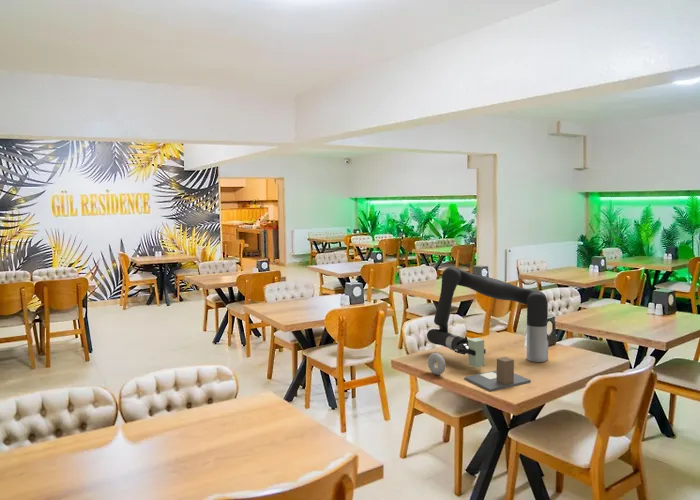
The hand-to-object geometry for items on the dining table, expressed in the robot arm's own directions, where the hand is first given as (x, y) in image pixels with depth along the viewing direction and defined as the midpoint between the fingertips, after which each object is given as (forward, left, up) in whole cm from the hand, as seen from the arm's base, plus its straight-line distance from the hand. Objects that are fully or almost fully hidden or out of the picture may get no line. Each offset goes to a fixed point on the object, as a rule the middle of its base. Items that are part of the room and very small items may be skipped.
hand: (480, 352), depth 241 cm
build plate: (0, +12, -9) cm, 15 cm away
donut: (+18, -8, -10) cm, 22 cm away
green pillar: (0, -3, -7) cm, 7 cm away
